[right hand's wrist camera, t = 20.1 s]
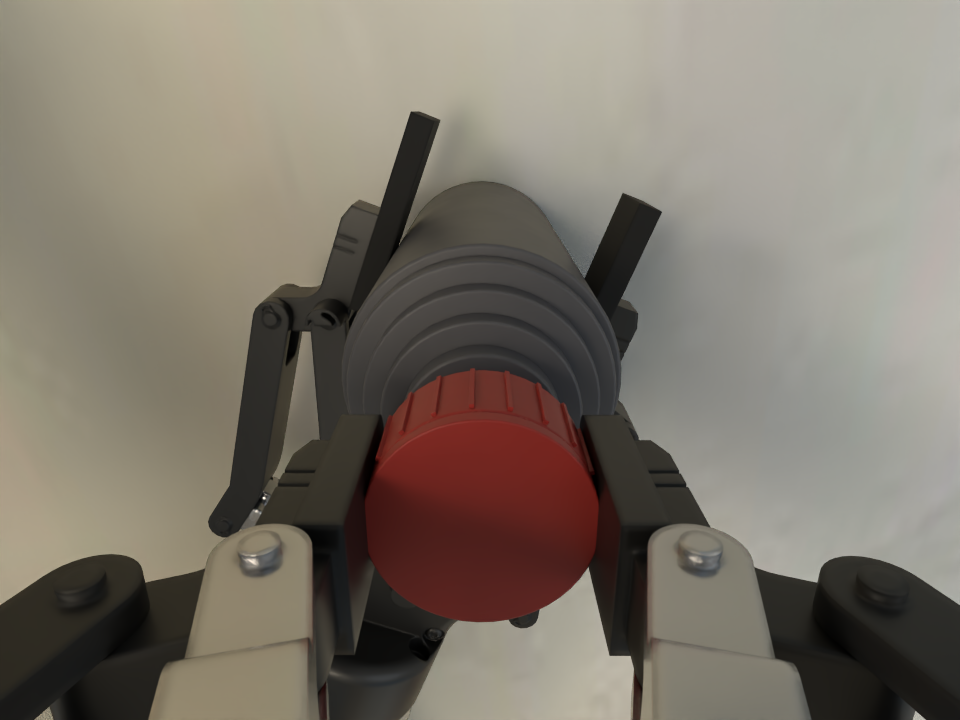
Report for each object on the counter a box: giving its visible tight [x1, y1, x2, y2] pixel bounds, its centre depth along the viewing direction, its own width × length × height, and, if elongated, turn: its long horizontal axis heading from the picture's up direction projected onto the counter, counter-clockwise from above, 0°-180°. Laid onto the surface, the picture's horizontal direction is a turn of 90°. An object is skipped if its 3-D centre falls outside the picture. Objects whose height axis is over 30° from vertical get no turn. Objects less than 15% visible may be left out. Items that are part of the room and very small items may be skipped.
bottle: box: [342, 182, 621, 429], centre depth 20 cm, size 7×7×19 cm
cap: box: [365, 368, 599, 622], centre depth 11 cm, size 4×4×2 cm
